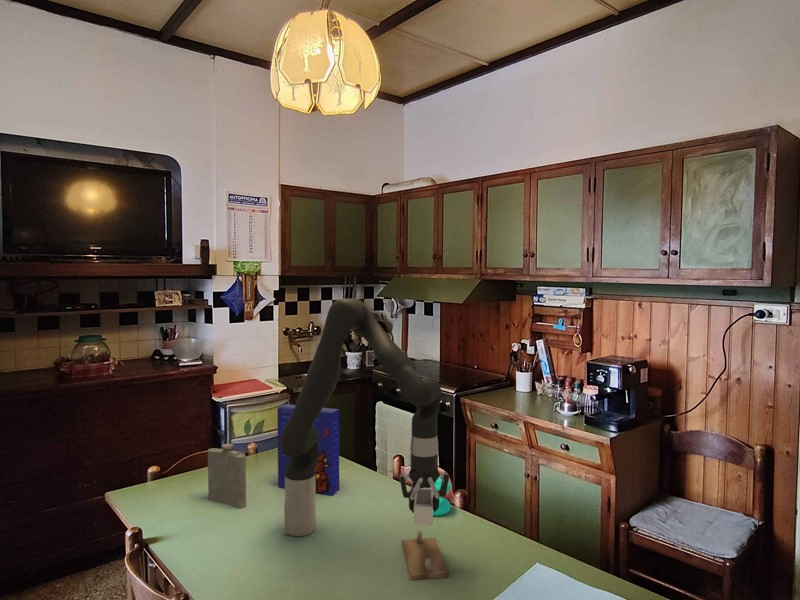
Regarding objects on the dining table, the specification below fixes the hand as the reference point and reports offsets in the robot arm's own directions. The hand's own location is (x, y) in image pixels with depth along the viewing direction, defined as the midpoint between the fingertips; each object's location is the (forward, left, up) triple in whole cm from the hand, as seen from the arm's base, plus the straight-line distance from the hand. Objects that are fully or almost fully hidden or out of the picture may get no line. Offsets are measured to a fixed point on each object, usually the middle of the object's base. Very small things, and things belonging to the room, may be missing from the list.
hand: (423, 510), depth 145 cm
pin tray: (0, 0, -14) cm, 14 cm away
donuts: (+9, +29, -14) cm, 34 cm away
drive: (0, 0, -1) cm, 1 cm away
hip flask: (-61, +43, -14) cm, 76 cm away
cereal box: (-34, +51, -14) cm, 63 cm away
